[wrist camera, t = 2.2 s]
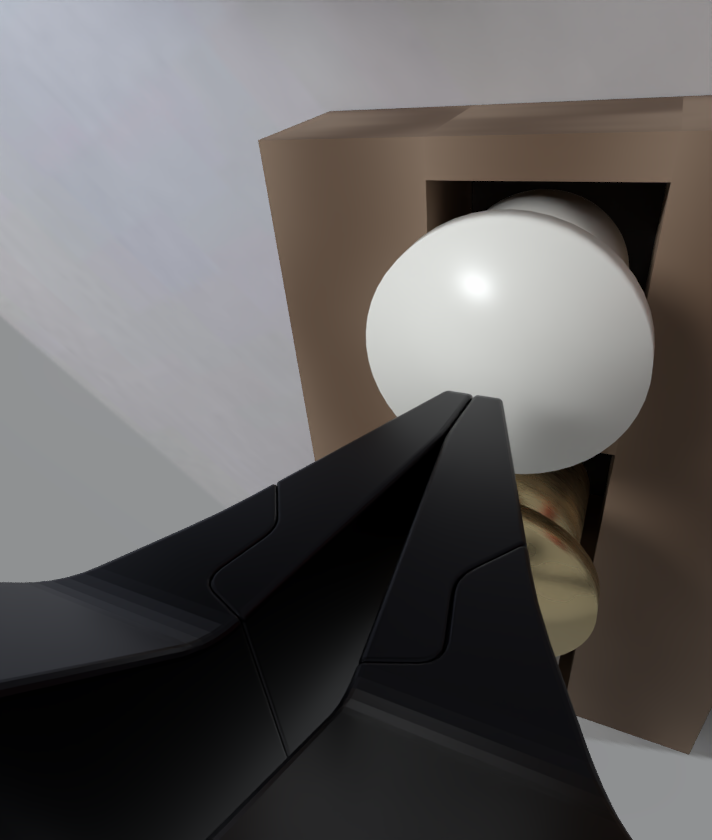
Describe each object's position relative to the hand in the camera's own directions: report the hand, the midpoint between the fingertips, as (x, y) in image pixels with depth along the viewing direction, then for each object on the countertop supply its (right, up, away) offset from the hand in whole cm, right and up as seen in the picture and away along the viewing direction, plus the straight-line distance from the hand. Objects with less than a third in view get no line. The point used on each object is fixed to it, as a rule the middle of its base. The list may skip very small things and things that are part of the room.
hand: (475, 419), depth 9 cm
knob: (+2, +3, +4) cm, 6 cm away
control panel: (+4, 0, +9) cm, 10 cm away
